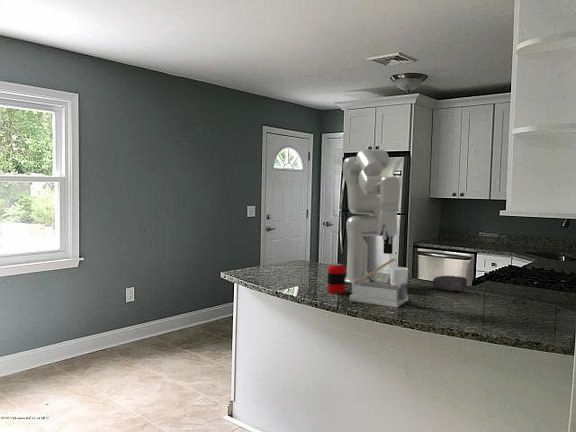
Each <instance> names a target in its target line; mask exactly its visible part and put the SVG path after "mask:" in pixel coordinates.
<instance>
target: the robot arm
mask: <svg viewBox="0 0 576 432" xmlns="http://www.w3.org/2000/svg"><path fill="white" fill-rule="evenodd" d="M389 161H390V157H389V154H388V152H387V151H386V150H385V149H374V148H373V149H369V148H367V149H366V148H364V149H362V150H361V149H360V150H359V151H358V152H357V154H356V156H350V157H347V158H345V159H344V160H343V164H342V174H343V177H344V178H343V179H344V180H345V183H346V188H347V206H348V207H347V208H348V210H349V213H351V214H354V216H350V217H349V218H347V219H346V223H345V225H346V226H345V227H346V236H347V237H346V238H347V249H346V250H347V257H346V259H347V260H346V276H345V283H348V284H352V280H353V279H355V278H358V279H360V278H362V277H363V276H365V275H367V274H368V273H369V271H368V270H367V269H368V243H367V241H366V240H365V239H364V237H382V238H381V239H382V240H383V243H382V244H383V254H385V255H386V254H387V255H392V254H393V247H394V245H393V242H394V238H395V236H396V235H397V233H398V212H399V209H400V178H399V177H397V176H381V174H382V172H383V170H385V169H387V167H388V165H389ZM378 195H379V196H378ZM355 214H356V215H355ZM357 214H359V215H357ZM366 214H367V216H366ZM361 215H362V216H361ZM362 281H365V282H371V280H370V278H369V277H366V278H365V279H363V280H361V281H360V282H361V283H362ZM360 282H358V284H359V283H360Z"/></svg>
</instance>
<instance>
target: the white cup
mask: <svg viewBox="0 0 576 432" xmlns="http://www.w3.org/2000/svg"><path fill="white" fill-rule="evenodd" d="M389 270H390V271H389V272H390V279H389V280H390V285H397V286H400V285H401V284H403V283H407V284H408V279H409V276H408V275H409V268H408V267H403V266H391V267H390V269H389Z"/></svg>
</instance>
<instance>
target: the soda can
mask: <svg viewBox="0 0 576 432" xmlns="http://www.w3.org/2000/svg"><path fill="white" fill-rule="evenodd" d="M345 277H346V267H345V266H344V265H343V264H342V263H330V264H329V266H328V267H327V283H326V285H327V288H326V289H327V290H326V291H327V293H330V294H334V295H340V294H344V293H346V292H345V290H346V289H345V288H346V287H345V285H346V284H345V283H346V282H345Z"/></svg>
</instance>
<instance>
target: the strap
mask: <svg viewBox="0 0 576 432" xmlns="http://www.w3.org/2000/svg"><path fill="white" fill-rule="evenodd" d="M394 261H396V258H392V259H390V260H389V261H386V262H385V263H383V264H381V265H380V266H379V267H377V268H375V269H374V270H372V271H370V272H368V274H367V275H365V276H363V277H362V278H360V279H358V280H356V283H358V282H360V281H361V280H363V279H365V278H366V277H367V278H369V276H371V275H373V274H375V273H376V272H378V271H380V270H382V269H383V268H385V267H387V266H388V265H390V264H392V263H393V262H394Z"/></svg>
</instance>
